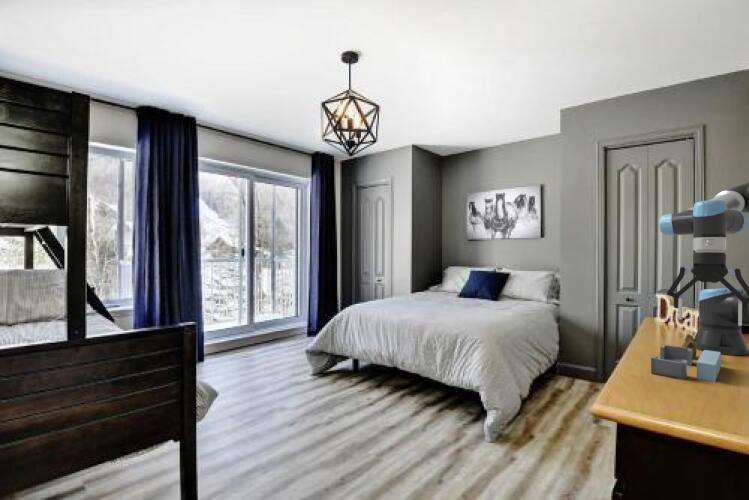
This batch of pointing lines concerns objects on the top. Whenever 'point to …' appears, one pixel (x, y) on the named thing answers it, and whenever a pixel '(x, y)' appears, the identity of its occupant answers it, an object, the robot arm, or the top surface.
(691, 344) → the rock
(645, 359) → the top surface
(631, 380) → the top surface
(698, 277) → the robot arm
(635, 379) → the top surface
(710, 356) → the slat
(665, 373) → the end caps
